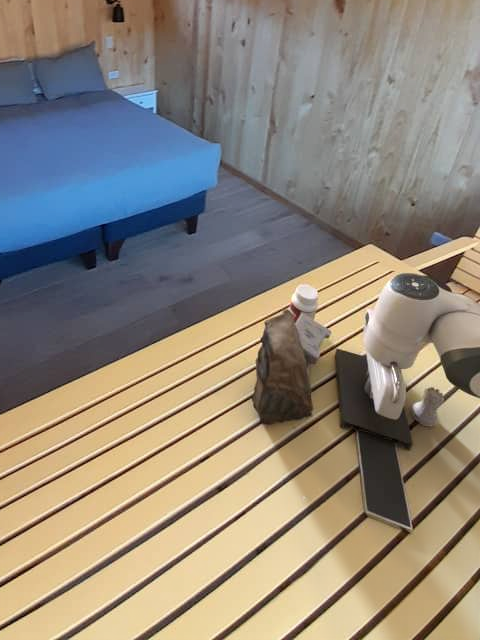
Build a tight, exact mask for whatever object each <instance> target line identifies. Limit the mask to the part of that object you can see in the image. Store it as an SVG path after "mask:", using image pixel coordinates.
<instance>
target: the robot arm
mask: <svg viewBox="0 0 480 640" xmlns="http://www.w3.org/2000/svg"><path fill="white" fill-rule="evenodd" d="M421 275H422V274H417V273H412V272H411V273H410V272H403V273H399V274H396V275H394V276H393V277H391V278H390V279H389V280H388V281H387V282H386V284H385V285H384V287H383V288H382V289H381V291H380V294H379V295H378V299H377V301H376V304H375V306H374V309H372V308H367V309H366V311H365V314H364V317H365V318H364V319H365V322H364V325H363V331H362V333H363V334H362V337H363V339H362V341H363V346H364V349H365V354H366V355H365V356H366V357H367V361H368V372H367V374H366V376H367V380H368V378H369V376H370V380H371V386H372V387H371V386H370V389H369V396H370V398H372V399H374V405H375V410H376V412H377V413H378V414H379V415H382V416H384V417H387V418H390V419H395V420H396V419H398V418H399V417H400V414H401V412H402V409H403V406H404V407H405V402H406V398H407V389H406V383H405V380H404V376H403V375H404V374H403V371H402V370H407V369H410V368H412V367H413V366H414V364H415V362H416V360H417V357H418V355H419V354H420V351H421V349H422V347H423V345H424V344H425V343H430V344H433V347H434V348H435V350H436V352H437V355H438V356H439V360H440V363H441V366H442V369H443V372H444V374H445V377H446V379H447V381H448V382H449V384H451V385H453V386H454V387H456V389H458V390H460V391H462V392H463V393H466V394H467V395H469V396H471V397H474V398H477V399H480V304H479V303H478V302H477V301H476V300H475V299H473V298H471V297H470V296H468V295H466V294H463V293H459V292H453V291H452V292H448V291H446V290H444V289H442V288H440V287H439V286H438V285H437V284H436V283H435V282H433V281H432V280H430V279H429V278H427V277H424V276H421Z"/></svg>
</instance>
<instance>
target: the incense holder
mask: <svg viewBox="0 0 480 640" xmlns="http://www.w3.org/2000/svg"><path fill="white" fill-rule="evenodd" d="M295 325H296V327H297V330H298V334H299V337H300V341H301V344H302V347H303V350H304V354H305V359H306V365H307V369H308V370H309V368H310V366H311V365H314V366H315V365H316V364H317V363H318V361H319V359H320V357H321V355H320V351H319V350H320V348H321V346H322V345H323V342H324V340H325V339H329V338H330V337H331V335H332V331H331V330H330V329H329V328H327V327H326V326H324V325H323V324H321V323H319V322H318V321H316V320H315V319H314V320H313V319H311V318H309V317H308V316H306V315H305V314H301V315H300V317H299V318H298V320H297V322H296V323H295Z"/></svg>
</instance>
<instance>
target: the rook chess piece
mask: <svg viewBox="0 0 480 640" xmlns="http://www.w3.org/2000/svg"><path fill="white" fill-rule="evenodd" d="M423 390H424V391H423V393H424V394H423V396H422V398H423V399H422V400H421V401H417V402H415V403H413V405H412V406H411V408H410V413H411V415H412V417H413V418H414V420H415V421H416V422H418V423H419V424H420V425H422V426H424V427H429V428H430V427H435V426H436V425H437V422H438V421H439V419H438V412H437V409H438V408H440V407H441V405H442V404H444V402H445V399H444V394H443V392H440V389H438V388H436V389H435V387H434V386H430V387H427V388H425V389H423Z"/></svg>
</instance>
